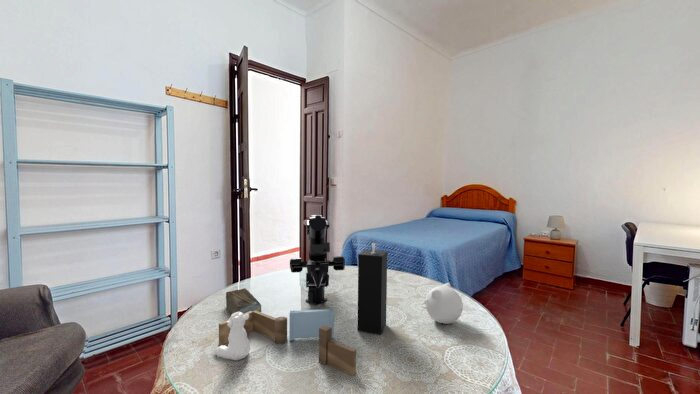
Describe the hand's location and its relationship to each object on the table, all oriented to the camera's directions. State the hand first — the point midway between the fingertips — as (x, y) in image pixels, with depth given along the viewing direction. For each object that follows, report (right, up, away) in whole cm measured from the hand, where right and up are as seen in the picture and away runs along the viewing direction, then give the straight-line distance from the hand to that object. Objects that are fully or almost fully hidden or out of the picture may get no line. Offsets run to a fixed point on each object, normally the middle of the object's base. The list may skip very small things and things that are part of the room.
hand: (317, 287), depth 100 cm
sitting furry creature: (-20, -13, -17) cm, 30 cm away
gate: (-1, -13, -9) cm, 15 cm away
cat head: (+43, -13, +4) cm, 45 cm away
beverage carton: (-28, -13, +10) cm, 32 cm away
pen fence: (-7, -13, -18) cm, 23 cm away
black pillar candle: (+18, -13, -1) cm, 22 cm away
